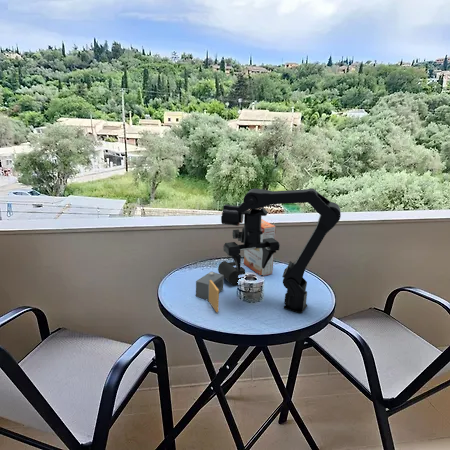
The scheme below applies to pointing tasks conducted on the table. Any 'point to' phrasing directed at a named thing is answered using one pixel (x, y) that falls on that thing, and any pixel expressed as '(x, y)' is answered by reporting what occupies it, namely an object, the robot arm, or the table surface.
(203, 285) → the block
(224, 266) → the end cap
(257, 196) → the robot arm
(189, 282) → the table surface
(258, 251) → the cracker box
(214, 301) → the door
